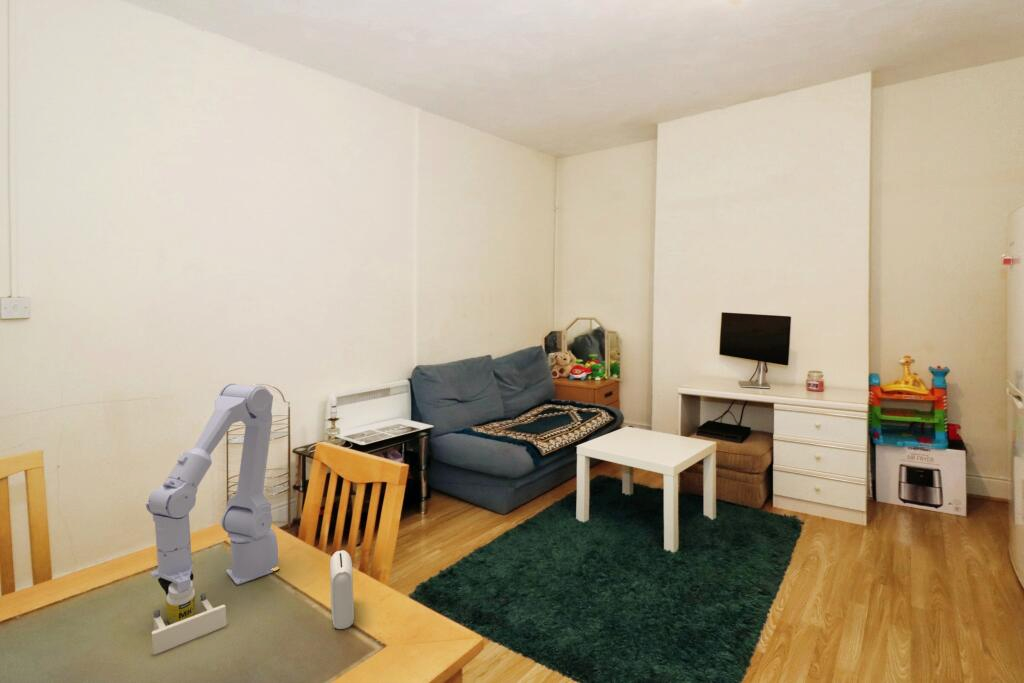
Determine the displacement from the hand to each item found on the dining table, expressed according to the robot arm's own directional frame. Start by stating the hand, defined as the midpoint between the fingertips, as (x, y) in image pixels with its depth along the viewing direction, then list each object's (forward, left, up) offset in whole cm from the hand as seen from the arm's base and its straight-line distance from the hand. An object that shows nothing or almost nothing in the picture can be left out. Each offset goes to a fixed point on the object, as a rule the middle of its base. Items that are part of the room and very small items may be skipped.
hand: (177, 609), depth 107 cm
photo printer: (-24, +23, -2) cm, 33 cm away
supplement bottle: (0, +2, -1) cm, 3 cm away
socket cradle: (0, +6, -2) cm, 6 cm away
